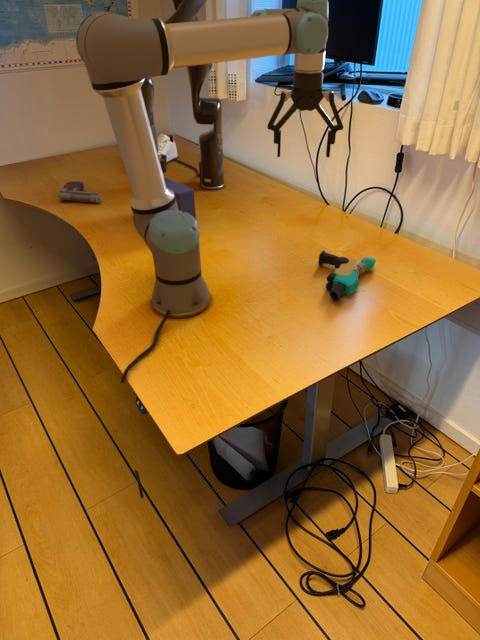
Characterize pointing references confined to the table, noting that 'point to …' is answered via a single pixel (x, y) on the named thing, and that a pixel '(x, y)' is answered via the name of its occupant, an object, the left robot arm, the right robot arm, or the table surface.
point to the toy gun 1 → (78, 193)
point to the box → (182, 196)
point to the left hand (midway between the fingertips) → (303, 155)
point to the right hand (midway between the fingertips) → (151, 188)
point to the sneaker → (167, 146)
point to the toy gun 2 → (344, 273)
